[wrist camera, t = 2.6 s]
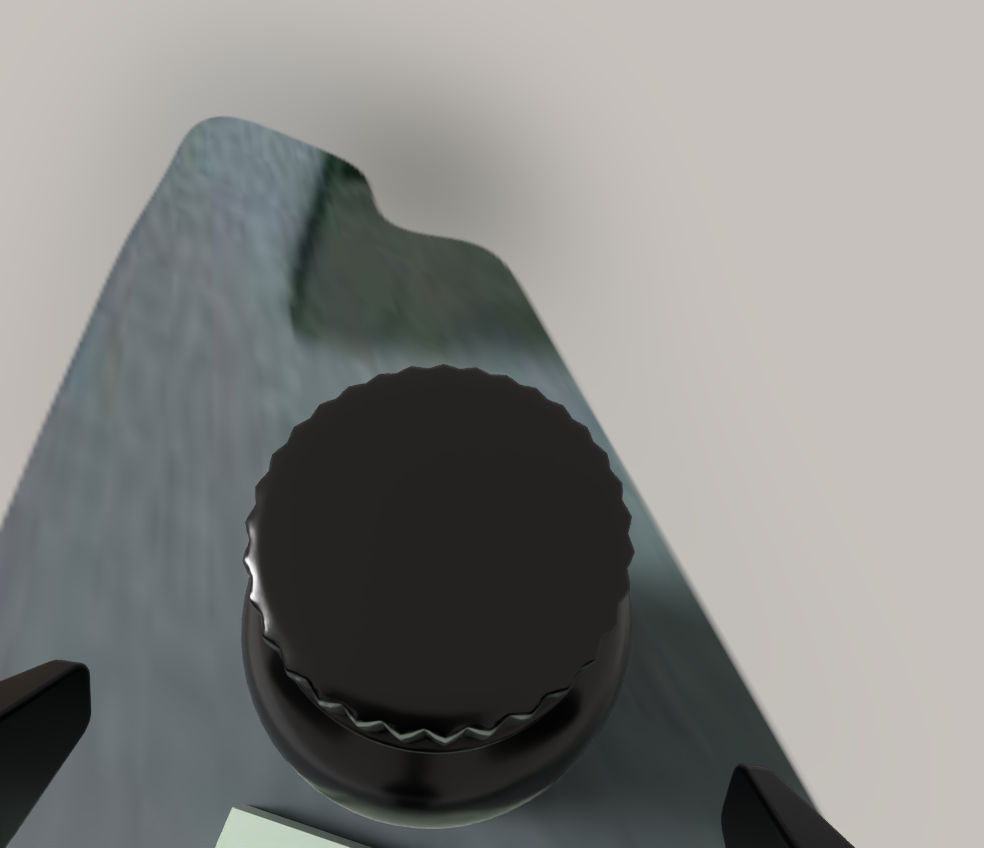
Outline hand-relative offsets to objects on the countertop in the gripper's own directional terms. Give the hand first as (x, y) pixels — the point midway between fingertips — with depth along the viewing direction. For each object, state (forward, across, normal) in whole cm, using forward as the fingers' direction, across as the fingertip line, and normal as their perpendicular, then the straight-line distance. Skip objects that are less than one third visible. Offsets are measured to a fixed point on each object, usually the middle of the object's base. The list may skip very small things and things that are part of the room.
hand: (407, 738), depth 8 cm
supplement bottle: (+8, 0, +5) cm, 10 cm away
